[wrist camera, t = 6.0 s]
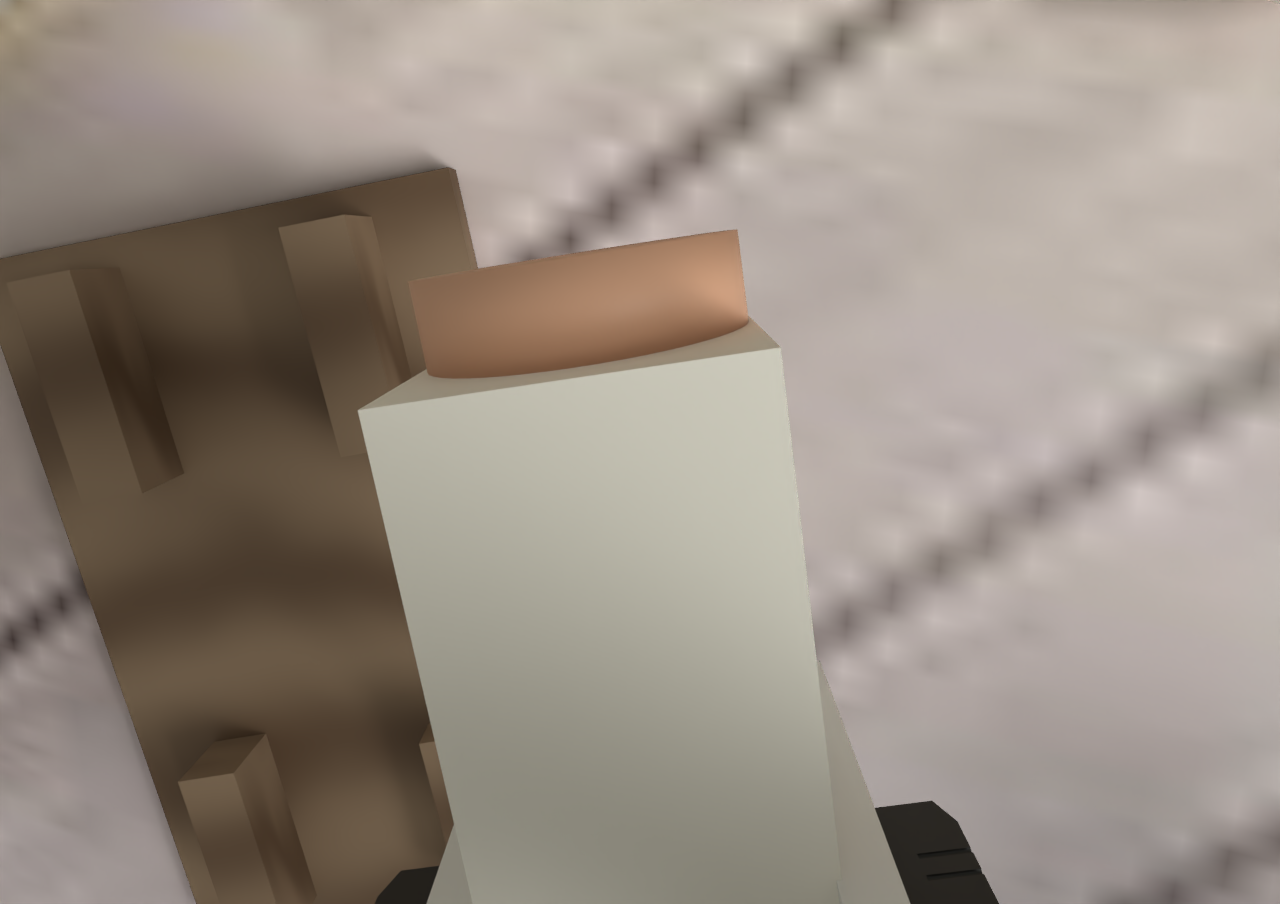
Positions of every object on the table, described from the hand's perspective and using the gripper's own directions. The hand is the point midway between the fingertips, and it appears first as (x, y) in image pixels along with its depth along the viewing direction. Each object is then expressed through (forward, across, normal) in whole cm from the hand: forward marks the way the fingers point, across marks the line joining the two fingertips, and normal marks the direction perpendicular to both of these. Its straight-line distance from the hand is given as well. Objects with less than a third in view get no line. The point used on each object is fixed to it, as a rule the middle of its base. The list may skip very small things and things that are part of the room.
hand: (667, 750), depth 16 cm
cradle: (+15, +12, +1) cm, 20 cm away
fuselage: (+1, 0, 0) cm, 1 cm away
